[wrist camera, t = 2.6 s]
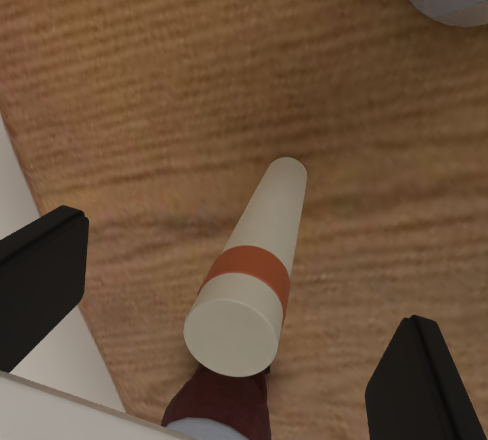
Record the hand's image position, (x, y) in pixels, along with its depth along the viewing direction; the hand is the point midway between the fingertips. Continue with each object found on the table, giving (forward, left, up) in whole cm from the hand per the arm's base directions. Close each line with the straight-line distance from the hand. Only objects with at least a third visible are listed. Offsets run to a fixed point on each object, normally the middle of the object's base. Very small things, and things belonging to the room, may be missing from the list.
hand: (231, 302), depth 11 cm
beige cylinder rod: (0, 0, -12) cm, 12 cm away
